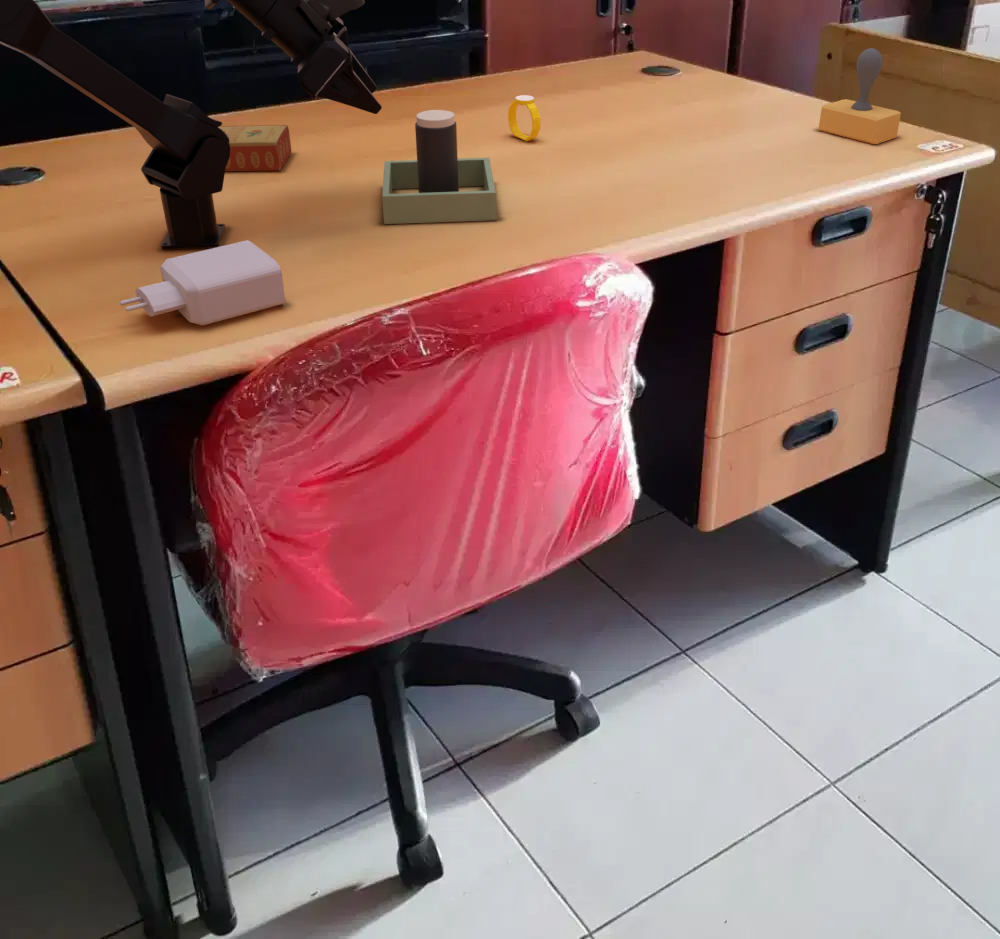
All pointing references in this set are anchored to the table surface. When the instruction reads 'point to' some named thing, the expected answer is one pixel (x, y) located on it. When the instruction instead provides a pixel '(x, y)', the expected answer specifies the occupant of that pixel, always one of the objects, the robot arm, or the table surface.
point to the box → (438, 195)
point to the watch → (535, 116)
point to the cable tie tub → (436, 151)
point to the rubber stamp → (861, 108)
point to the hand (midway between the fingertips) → (376, 100)
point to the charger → (214, 284)
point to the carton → (257, 147)
